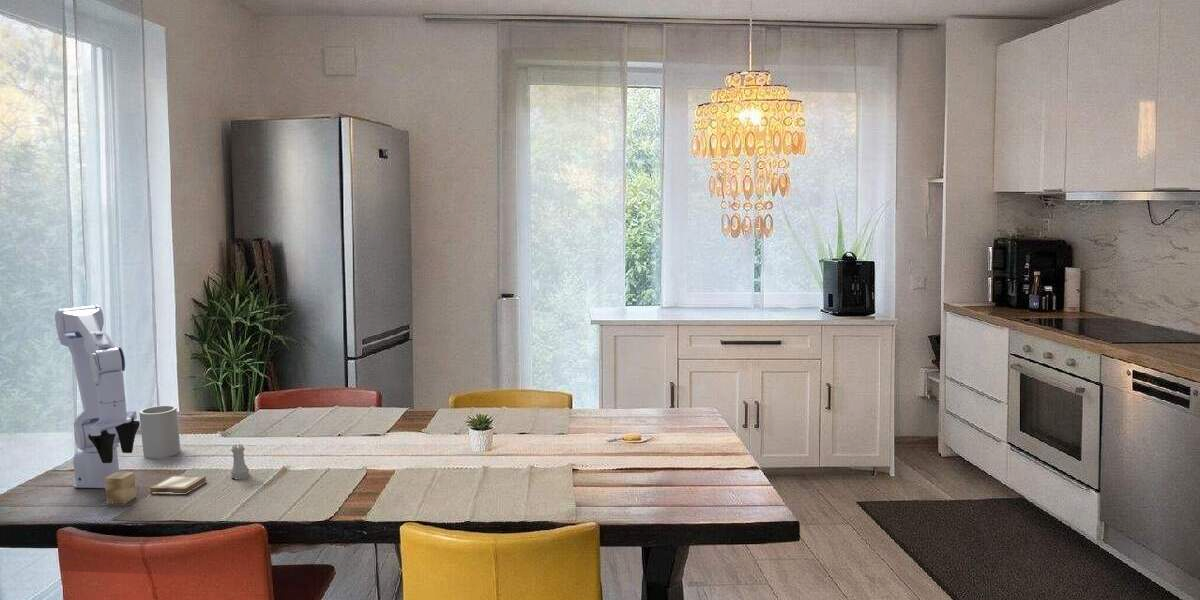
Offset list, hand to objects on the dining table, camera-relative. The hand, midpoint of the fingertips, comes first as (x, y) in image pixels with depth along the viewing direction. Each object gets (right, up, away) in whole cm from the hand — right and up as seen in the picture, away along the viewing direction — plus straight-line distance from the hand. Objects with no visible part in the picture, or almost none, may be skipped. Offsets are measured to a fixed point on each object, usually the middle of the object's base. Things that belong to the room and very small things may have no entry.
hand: (117, 457), depth 234 cm
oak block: (0, -10, +1) cm, 10 cm away
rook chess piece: (+23, -7, +16) cm, 29 cm away
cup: (-6, -5, +39) cm, 39 cm away
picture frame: (+10, -9, +9) cm, 16 cm away
